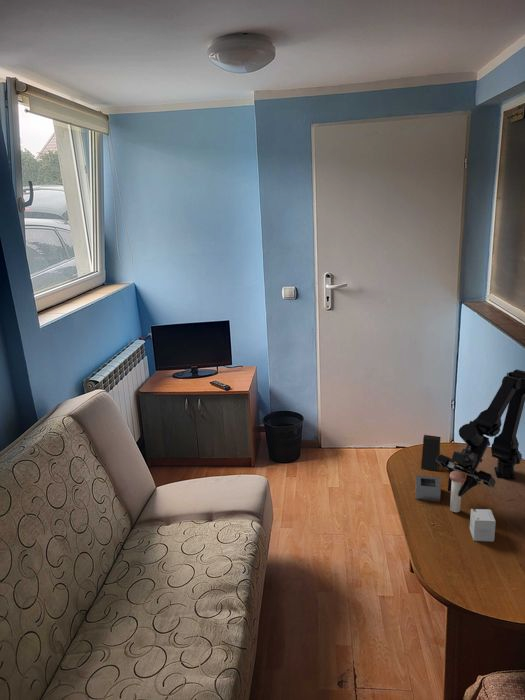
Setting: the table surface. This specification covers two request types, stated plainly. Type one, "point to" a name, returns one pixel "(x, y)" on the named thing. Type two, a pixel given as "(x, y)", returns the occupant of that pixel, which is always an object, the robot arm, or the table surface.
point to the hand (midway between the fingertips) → (453, 493)
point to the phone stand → (430, 452)
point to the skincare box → (482, 525)
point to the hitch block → (428, 488)
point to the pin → (456, 490)
